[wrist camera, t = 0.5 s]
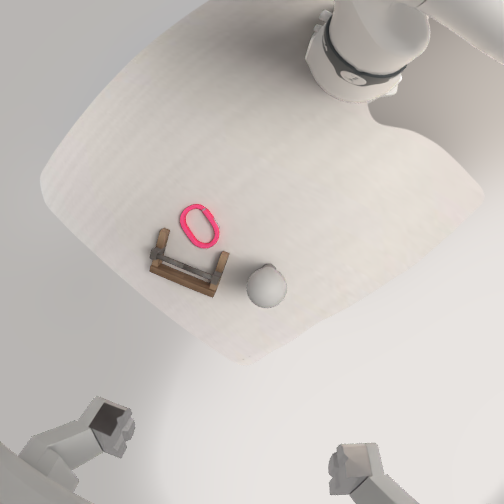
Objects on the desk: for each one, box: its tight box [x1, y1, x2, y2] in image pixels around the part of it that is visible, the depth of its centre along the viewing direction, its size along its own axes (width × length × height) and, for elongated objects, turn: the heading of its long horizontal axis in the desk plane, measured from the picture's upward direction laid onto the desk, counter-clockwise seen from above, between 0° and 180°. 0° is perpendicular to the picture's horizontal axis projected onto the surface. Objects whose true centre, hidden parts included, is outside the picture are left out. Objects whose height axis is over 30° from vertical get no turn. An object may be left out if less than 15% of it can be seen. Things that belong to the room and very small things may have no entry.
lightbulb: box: [247, 264, 287, 308], centre depth 45 cm, size 6×6×11 cm
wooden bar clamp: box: [150, 228, 229, 298], centre depth 50 cm, size 8×13×4 cm, turn 70°
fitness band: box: [180, 204, 220, 248], centre depth 49 cm, size 8×6×2 cm
